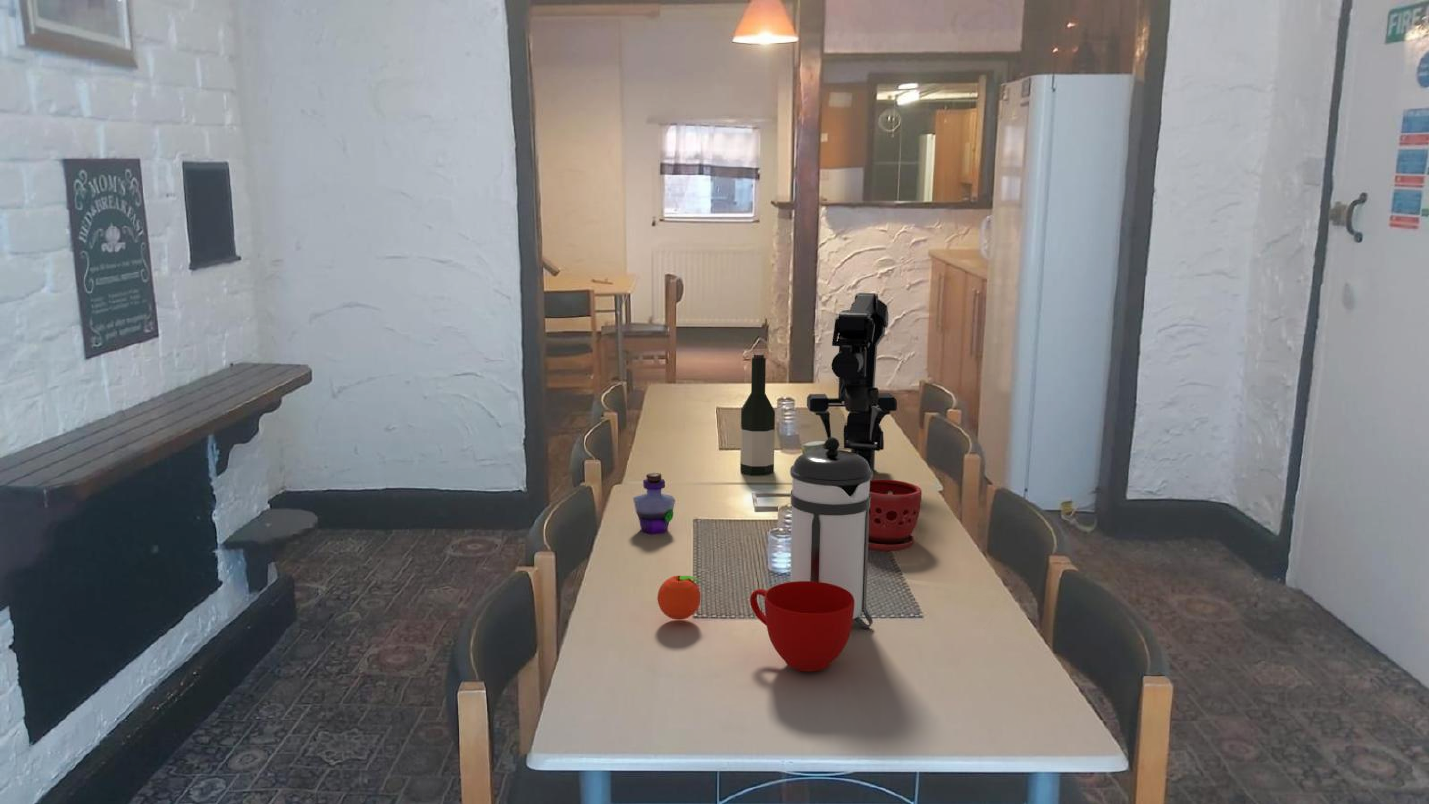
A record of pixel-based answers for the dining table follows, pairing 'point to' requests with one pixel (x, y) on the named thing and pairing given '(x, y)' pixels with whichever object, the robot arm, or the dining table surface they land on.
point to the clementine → (679, 597)
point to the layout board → (770, 508)
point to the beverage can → (813, 446)
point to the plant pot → (892, 514)
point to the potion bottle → (654, 506)
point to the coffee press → (831, 521)
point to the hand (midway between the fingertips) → (850, 441)
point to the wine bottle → (757, 425)
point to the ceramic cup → (806, 621)
